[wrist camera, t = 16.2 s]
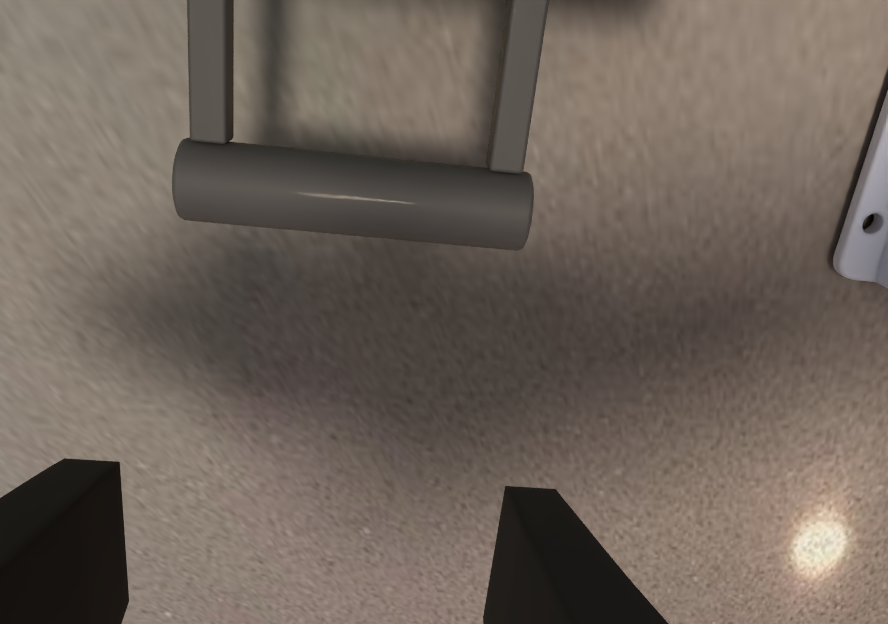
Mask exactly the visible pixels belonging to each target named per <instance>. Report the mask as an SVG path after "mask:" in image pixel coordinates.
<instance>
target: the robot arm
mask: <svg viewBox="0 0 888 624" xmlns="http://www.w3.org/2000/svg"><path fill="white" fill-rule="evenodd" d="M870 214H873V215H874V220H873V222H872V224H871V225H870V226H869V227H868V228H866V229H863V228H862V226H863V221H864V220H865V218H866V217H867V216H869V215H870ZM833 266H834V269H835V270H836V271H837V272H838V273H839V274H840V275H842V276H844V277H845V278H848V279H851V280H859V281H870V282H876V283H878V284H880V285H882V286H883V287H885V288H887V289H888V91H887V94H886V97H885V100H884V103H883V106H882V109H881V112H880V115H879V118H878V121H877V124H876V127H875V130H874V134H873V137H872V140H871V143H870V146H869V149H868V152H867V155H866V158H865V161H864V164H863V167H862V170H861V173H860V177H859V180H858V183H857V186H856V189H855V192H854V195H853V198H852V201H851V204H850V207H849V210H848V213H847V216H846V220H845V223H844V226H843V229H842V232H841V235H840V238H839V241H838V244H837V247H836V250H835V253H834V257H833ZM128 603H129V594H128V579H127V564H126V550H125V535H124V520H123V505H122V491H121V476H120V462H112V461H96V460H80V459H63V460H61V461H59V462H58V463H56V464H54V465H52V466H51V467H49V468H47V469H46V470H44V471H42V472H41V473H39V474H38V475H36V476H34V477H33V478H31V479H30V480H28V481H26V482H25V483H23V484H22V485H20V486H19V487H17V488H15V489H14V490H12V491H11V492H9V493H8V494H6V495H4V496H3V497H1V498H0V624H121V623H122V620H123V617H124V614H125V611H126V608H127V605H128ZM483 623H484V624H668V623H667V622H666V620H665V619H664V618H663V617H662V616H661V615H660V614H659V612H658V611H657V610H656V609H655V608H654V607H653V606H652V605H651V603H650V602H649V601H648V600H647V599H646V598H645V597H644V595H643V594H642V593H641V592H640V591H639V590H638V589H637V588H636V586H635V585H634V584H633V583H632V582H631V580H630V579H629V578H628V577H627V576H626V575H625V573H624V572H623V571H622V570H621V569H620V567H619V566H618V565H617V564H616V563H615V561H614V560H613V559H612V558H611V557H610V555H609V554H608V553H607V552H606V550H605V549H604V548H603V547H602V546H601V544H600V543H599V542H598V541H597V540H596V538H595V537H594V536H593V535H592V533H591V532H590V531H589V530H588V528H587V527H586V526H585V525H584V524H583V522H582V521H581V520H580V519H579V517H578V516H577V515H576V514H575V513H574V511H573V510H572V509H571V508H570V506H569V505H568V504H567V503H566V502H565V500H564V499H563V498H562V497H561V495H560V494H559V493H558V492H557V491H556V489H543V488H527V487H511V486H505V491H504V497H503V503H502V509H501V515H500V521H499V527H498V533H497V539H496V545H495V551H494V556H493V562H492V568H491V574H490V580H489V586H488V592H487V598H486V604H485V610H484V616H483Z"/></svg>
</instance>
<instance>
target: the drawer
mask: <svg viewBox="0 0 888 624" xmlns="http://www.w3.org/2000/svg"><path fill="white" fill-rule="evenodd" d="M548 3H549V0H507V7H506V14H505V22H504V30H503V37H502V45H501V52H500V60H499V68H498V75H497V83H496V91H495V98H494V106H493V113H492V121H491V129H490V136H489V144H488V152H487V159H486V163H487V166H488V168H483V167H473V166H463V165H453V164H443V163H433V162H423V161H414V160H404V159H394V158H384V157H374V156H364V155H355V154H345V153H335V152H325V151H315V150H305V149H295V148H286V147H276V146H266V145H256V144H246V143H236V142H229V141H230V140H232V138H233V0H187V17H188V65H189V112H190V138H186V139H183V140H182V141H181V143H180V144H179V146H178V149H177V152H176V155H175V159H174V165H173V174H172V191H173V199H174V204H175V208H176V211H177V214H178V215H179V217H181V218H182V219H184V220H190V221H201V222H211V223H222V224H233V225H244V226H255V227H266V228H277V229H288V230H299V231H310V232H321V233H331V234H342V235H353V236H364V237H375V238H386V239H397V240H408V241H419V242H430V243H440V244H451V245H462V246H473V247H484V248H495V249H506V250H520V249H522V248H523V247H524V245H525V243H526V240H527V238H528V234H529V230H530V226H531V220H532V212H533V199H534V191H533V182H532V178H531V175H530V174H529V173H527V172H523V169H524V162H525V156H526V149H527V142H528V136H529V129H530V123H531V116H532V109H533V103H534V96H535V89H536V83H537V76H538V70H539V63H540V56H541V50H542V43H543V36H544V30H545V23H546V16H547V10H548Z"/></svg>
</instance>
